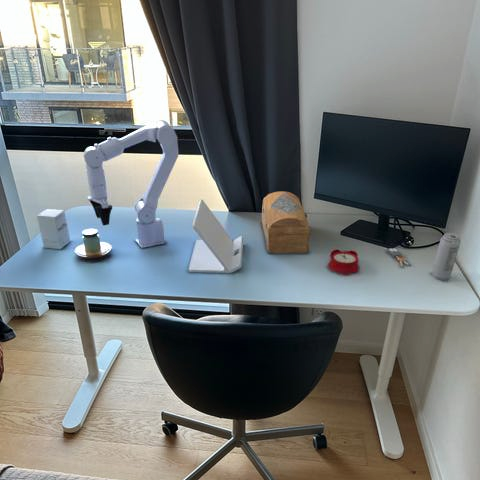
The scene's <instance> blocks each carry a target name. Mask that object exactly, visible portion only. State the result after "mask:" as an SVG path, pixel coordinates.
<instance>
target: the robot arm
mask: <svg viewBox="0 0 480 480" xmlns="http://www.w3.org/2000/svg"><path fill="white" fill-rule="evenodd" d="M106 139H107V140H104V141H102V142H100V143H94V145H93V146H87V147H86V149H85V150H84V151H83V158H84V162H85V168H86V176H87V183H88V188H89V189H88V190H89V195H90V196H87V201H89V203H90V204H91V206H92V208H93V211H94V214H95V215H96V218H97V219H100V221H101V224H102V225H103V226H108V225H110V219H111V212H112V210H113V205H112V204H109V201H108V200H109V195H108V188H107V182H106V176H105V175H106V174H105V170H104V167H103V163H104V162H108V161H110V160H112V159H114V158H116V157H118V156H120V155H123V153H124V150H125V149H127V148H130V147H132V146H135V145H137V144H140V143H142V142H144V141H148V142H151V143H152V142H153V143H157V141H158V143H159V144H160V147H161V149H162V155H161V157H160V159H159V162H158V164H157V166H156V168H155V170H154V173H153V175H152V177H151V180H150V182H149V184H148V186H147V188H146V191H145V192H144V193H143V194H142V195H141V198H139V200H137V201H136V203H135V204H134V209H135V212H136V214H137V217H136V219H135V220H136V229H137V237H138V238H135V239H134V240H135V242H136V243H137V244H138V245H139V247H140V248H141V249H145V248H148V247H153V246H159V245H163V244H166V240H165V230H164V224H163V220H162V219H161V218H160V217H156V216H157V215H156V214H157V213H156V212H157V208H158V204H159V203H158V202H159V199H160V197H161V194H162V192H163V191H164V188H165V186H166V184H167V182H168V179H169V177H170V175H171V173H172V171H173V169H174V166H175V164H176V162H177V159H178V157H179V155H180V154H179V153H180V152H179V143H178V135H177V134H176V131H175V129H174V128H173V127H172V126H171V125H170V124H169V123H168V122H167V121H166V120H163V119H160V120H157V121H155V122H151V123H148V124H146V125H145V126H142V127H141V128H139V129H137V130H135V131H132V132H131V133H129V134H127V135H125V136H123V137H121V138H117V137H115V136H114V137H111V136H109V137H108V136H107V138H106ZM156 140H157V141H156Z"/></svg>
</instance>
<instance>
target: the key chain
mask: <svg viewBox="0 0 480 480" xmlns="http://www.w3.org/2000/svg"><path fill="white" fill-rule="evenodd" d="M386 252H387V253H388V254H390V255H391V257H393V258H397V259H396V260H397V261H399V263H400V266H401V267H402V268H403V264H405V265H407V266H410V263H408V262H407V260H406V259H404V258H402V254H401V253H400V252H399V251H398V249H397V248H395V247H390V248H387V249H386Z"/></svg>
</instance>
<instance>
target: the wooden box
mask: <svg viewBox="0 0 480 480" xmlns="http://www.w3.org/2000/svg"><path fill="white" fill-rule="evenodd" d="M261 207H262V208H261V209H262V210H261V224H262V229H263V234H264V239H265V244H266V248H267V249H266V250H267V253H268V254H308V253H309V246H310V235H311V234H310V225H309V221H308V219H307V218H308V214H307V213H305V211H304V208H303V206H302V203H301V200H300V198H299V197H298V196H297V195H296V194H295V193H292V192H289V191H274V192H271V193H268V194H267V195H266V196H265V197H263V200H262V206H261Z"/></svg>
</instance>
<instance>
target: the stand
mask: <svg viewBox="0 0 480 480" xmlns="http://www.w3.org/2000/svg"><path fill="white" fill-rule="evenodd" d="M100 245H101V249H100V250H98V251H95V252H88V251H86V250H85V247H84V243H82V244H80V245H78V246H76V247H75V248H74V251H73V252H74V255H75V256H77V257H78V259H79V260H81V261H82V262H89V263H90V262H98V261H103V260H105V259H107V258H108V257H110V255H111V252H112V250H113V246H112V245H111V244H110V243H108V242H105V241H100Z"/></svg>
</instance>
